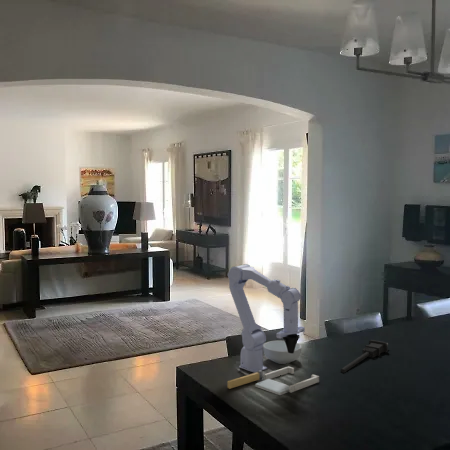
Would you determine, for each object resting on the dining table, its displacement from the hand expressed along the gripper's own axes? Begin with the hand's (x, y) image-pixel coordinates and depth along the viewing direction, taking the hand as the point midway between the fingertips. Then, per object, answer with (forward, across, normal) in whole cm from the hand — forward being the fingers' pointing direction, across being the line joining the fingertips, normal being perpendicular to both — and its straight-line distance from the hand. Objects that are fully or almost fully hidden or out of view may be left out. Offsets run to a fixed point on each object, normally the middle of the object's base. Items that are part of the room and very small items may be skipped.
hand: (290, 352), depth 205 cm
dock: (+10, -4, -1) cm, 11 cm away
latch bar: (+9, -19, +7) cm, 22 cm away
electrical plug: (+10, +40, -7) cm, 42 cm away
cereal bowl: (+10, +12, +16) cm, 22 cm away
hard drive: (+11, -13, -4) cm, 17 cm away
